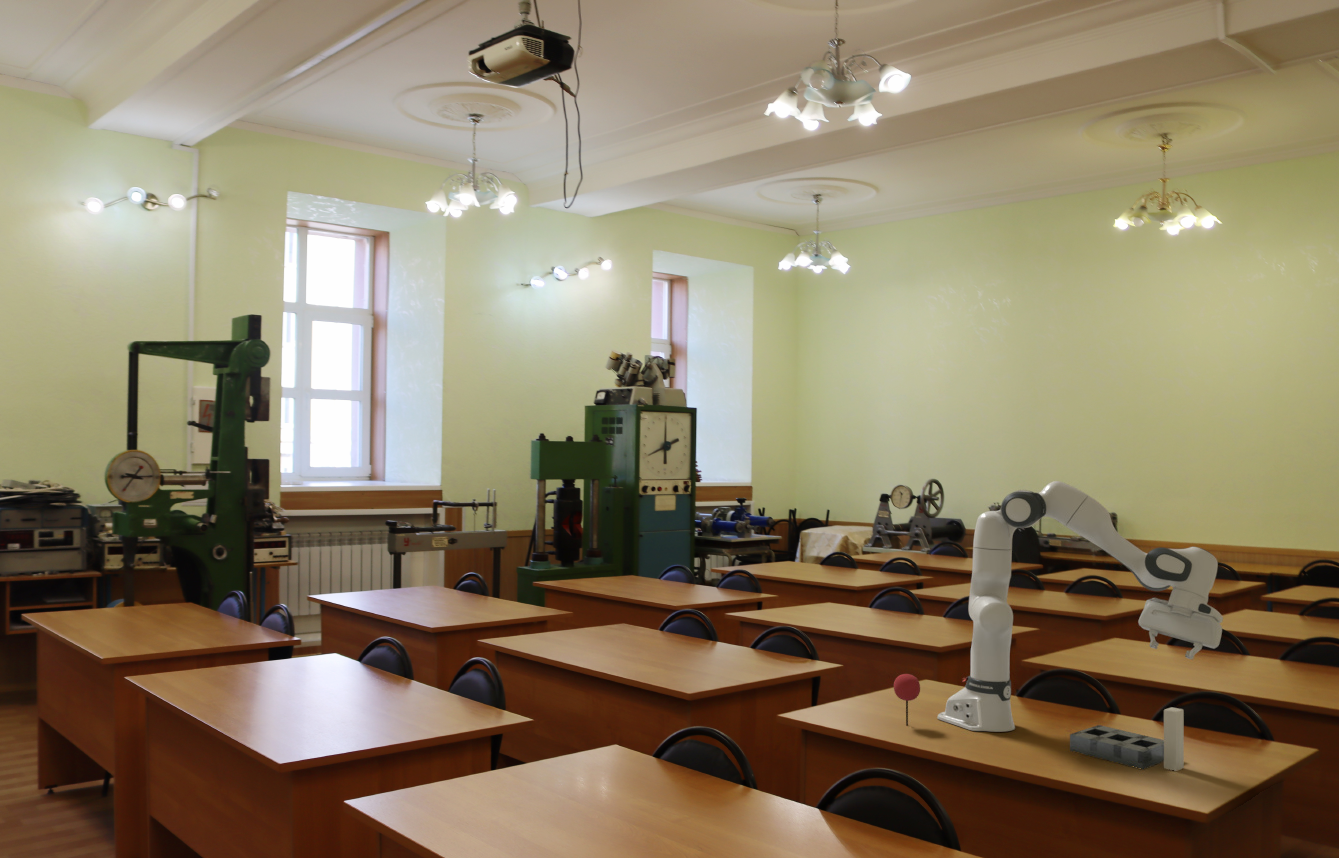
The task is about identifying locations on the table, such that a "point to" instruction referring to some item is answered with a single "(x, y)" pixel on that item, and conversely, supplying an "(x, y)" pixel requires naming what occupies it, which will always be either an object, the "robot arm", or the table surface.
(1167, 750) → the clay bar
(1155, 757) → the rack
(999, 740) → the table surface
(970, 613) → the robot arm
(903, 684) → the lollipop
